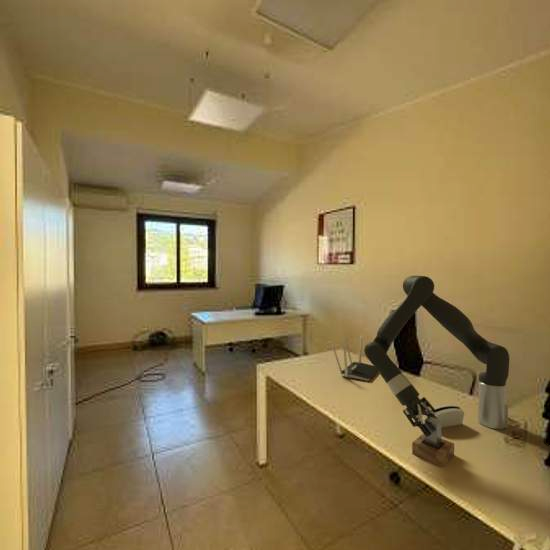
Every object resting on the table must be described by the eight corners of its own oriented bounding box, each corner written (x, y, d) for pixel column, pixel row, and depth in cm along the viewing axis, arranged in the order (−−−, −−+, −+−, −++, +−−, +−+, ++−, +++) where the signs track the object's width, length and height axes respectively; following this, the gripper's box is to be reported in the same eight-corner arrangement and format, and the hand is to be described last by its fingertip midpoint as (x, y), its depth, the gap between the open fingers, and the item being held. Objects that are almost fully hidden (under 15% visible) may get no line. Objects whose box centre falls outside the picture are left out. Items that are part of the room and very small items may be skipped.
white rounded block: (452, 418, 136) (459, 400, 132) (461, 427, 131) (468, 408, 128) (419, 423, 132) (425, 404, 128) (426, 432, 127) (433, 413, 124)
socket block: (424, 442, 117) (424, 432, 117) (454, 454, 110) (454, 443, 110) (412, 453, 111) (412, 442, 111) (442, 467, 103) (442, 454, 103)
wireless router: (367, 385, 174) (367, 349, 174) (327, 377, 187) (327, 344, 186) (382, 368, 203) (382, 337, 203) (347, 363, 215) (347, 333, 215)
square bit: (429, 449, 113) (429, 416, 113) (441, 454, 110) (441, 420, 110) (424, 454, 110) (424, 420, 110) (436, 459, 107) (436, 424, 107)
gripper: (400, 389, 111) (434, 434, 103) (418, 379, 121) (450, 419, 112) (386, 399, 115) (417, 443, 107) (404, 389, 125) (435, 428, 116)
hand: (434, 431), depth 110 cm, fingers open, 8 cm apart
